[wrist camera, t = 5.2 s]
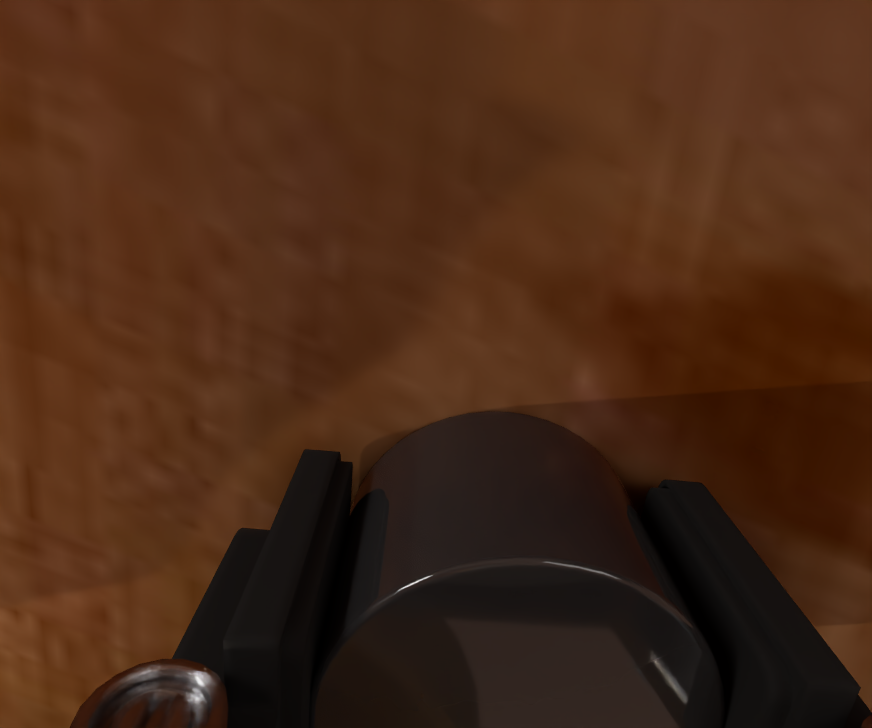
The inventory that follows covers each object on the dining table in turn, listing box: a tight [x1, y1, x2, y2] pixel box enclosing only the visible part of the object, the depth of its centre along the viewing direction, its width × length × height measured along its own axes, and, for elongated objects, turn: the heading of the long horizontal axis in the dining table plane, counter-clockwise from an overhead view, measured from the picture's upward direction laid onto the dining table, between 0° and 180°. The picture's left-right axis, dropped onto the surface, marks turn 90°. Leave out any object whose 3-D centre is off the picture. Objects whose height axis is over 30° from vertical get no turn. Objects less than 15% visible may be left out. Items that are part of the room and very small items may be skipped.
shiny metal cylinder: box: [309, 412, 725, 728], centre depth 8 cm, size 5×5×4 cm
